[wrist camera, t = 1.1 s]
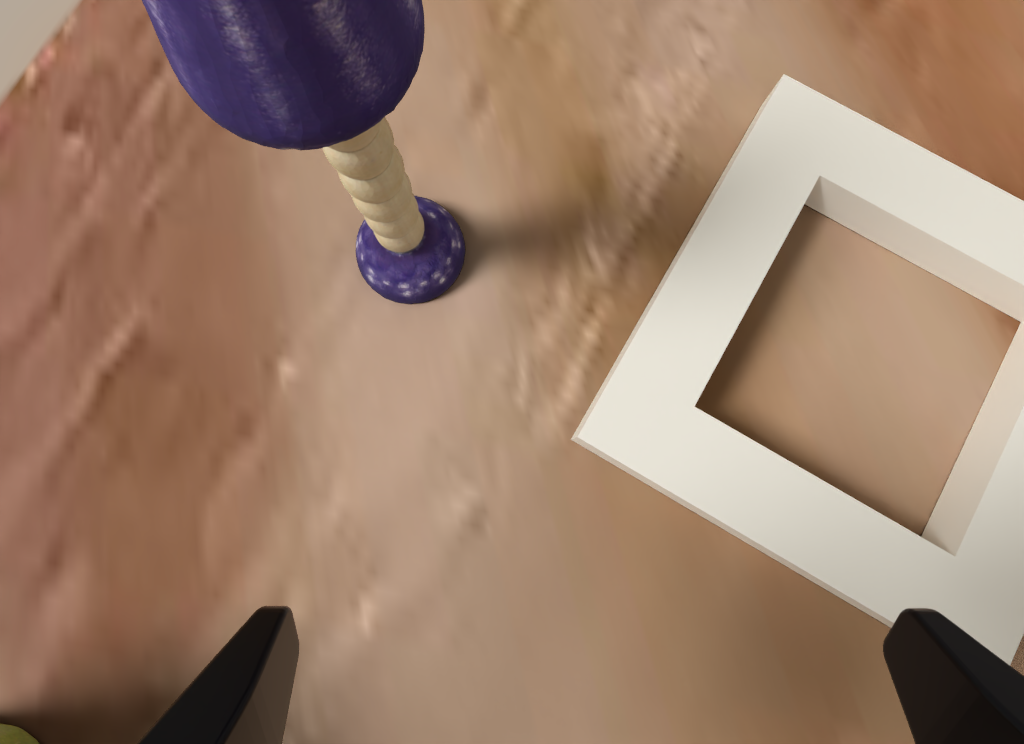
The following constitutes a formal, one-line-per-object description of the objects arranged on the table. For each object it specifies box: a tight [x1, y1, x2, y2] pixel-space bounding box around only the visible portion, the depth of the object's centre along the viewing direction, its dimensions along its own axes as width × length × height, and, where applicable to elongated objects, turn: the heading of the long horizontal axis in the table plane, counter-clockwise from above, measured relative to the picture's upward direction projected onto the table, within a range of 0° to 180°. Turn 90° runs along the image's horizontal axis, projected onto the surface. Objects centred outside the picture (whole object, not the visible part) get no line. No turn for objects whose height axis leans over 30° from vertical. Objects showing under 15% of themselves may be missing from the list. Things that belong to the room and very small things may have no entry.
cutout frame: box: [571, 74, 1024, 665], centre depth 23 cm, size 16×16×2 cm
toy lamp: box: [142, 0, 465, 304], centre depth 16 cm, size 5×5×17 cm
